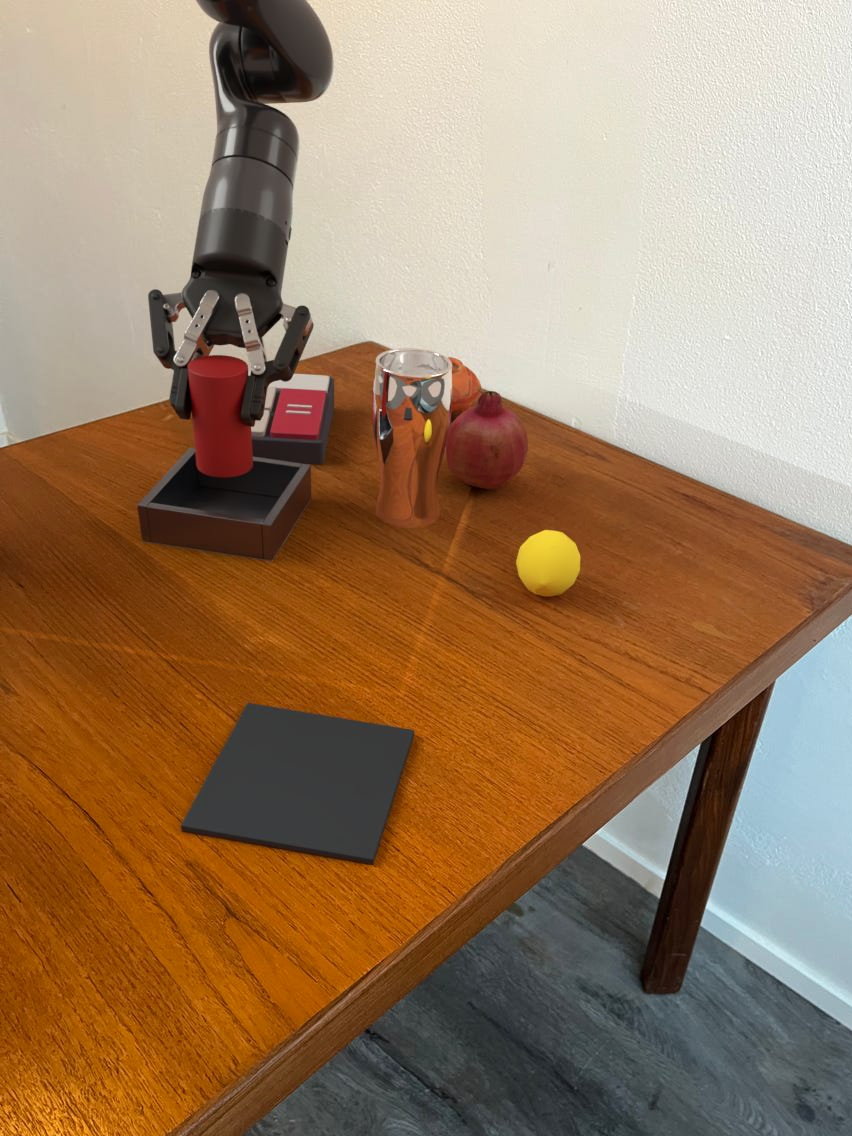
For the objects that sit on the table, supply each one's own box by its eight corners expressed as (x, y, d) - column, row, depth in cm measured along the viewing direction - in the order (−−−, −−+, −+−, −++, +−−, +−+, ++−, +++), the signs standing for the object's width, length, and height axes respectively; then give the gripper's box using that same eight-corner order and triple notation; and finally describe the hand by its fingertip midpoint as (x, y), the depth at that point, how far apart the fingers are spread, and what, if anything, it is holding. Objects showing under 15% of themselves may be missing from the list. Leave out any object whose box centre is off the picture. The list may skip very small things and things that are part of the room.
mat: (181, 831, 61) (180, 825, 61) (247, 707, 71) (247, 702, 71) (373, 865, 61) (373, 859, 60) (414, 735, 70) (414, 729, 70)
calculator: (208, 429, 98) (232, 364, 109) (212, 468, 101) (235, 400, 112) (322, 435, 99) (334, 370, 110) (323, 474, 101) (334, 406, 113)
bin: (142, 545, 87) (137, 505, 85) (193, 485, 96) (190, 447, 94) (272, 565, 86) (270, 525, 84) (311, 502, 95) (311, 464, 93)
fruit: (496, 514, 96) (506, 416, 90) (427, 488, 99) (432, 392, 94) (537, 484, 102) (549, 390, 96) (470, 460, 105) (477, 368, 99)
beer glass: (406, 542, 91) (413, 384, 82) (354, 513, 94) (355, 358, 86) (459, 518, 95) (471, 365, 86) (408, 490, 99) (414, 341, 90)
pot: (494, 407, 116) (494, 356, 111) (458, 444, 112) (456, 393, 106) (436, 386, 119) (433, 336, 114) (398, 422, 114) (393, 371, 109)
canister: (187, 473, 86) (178, 372, 81) (208, 449, 90) (200, 351, 85) (242, 481, 86) (235, 380, 80) (260, 457, 90) (256, 359, 84)
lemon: (572, 616, 83) (581, 561, 80) (508, 606, 84) (514, 551, 81) (579, 572, 89) (587, 519, 86) (518, 563, 90) (525, 510, 86)
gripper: (147, 195, 82) (113, 392, 80) (321, 214, 82) (293, 412, 80) (173, 245, 90) (143, 427, 87) (333, 262, 90) (308, 444, 87)
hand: (215, 418), depth 83 cm, fingers closed on canister, 5 cm apart
